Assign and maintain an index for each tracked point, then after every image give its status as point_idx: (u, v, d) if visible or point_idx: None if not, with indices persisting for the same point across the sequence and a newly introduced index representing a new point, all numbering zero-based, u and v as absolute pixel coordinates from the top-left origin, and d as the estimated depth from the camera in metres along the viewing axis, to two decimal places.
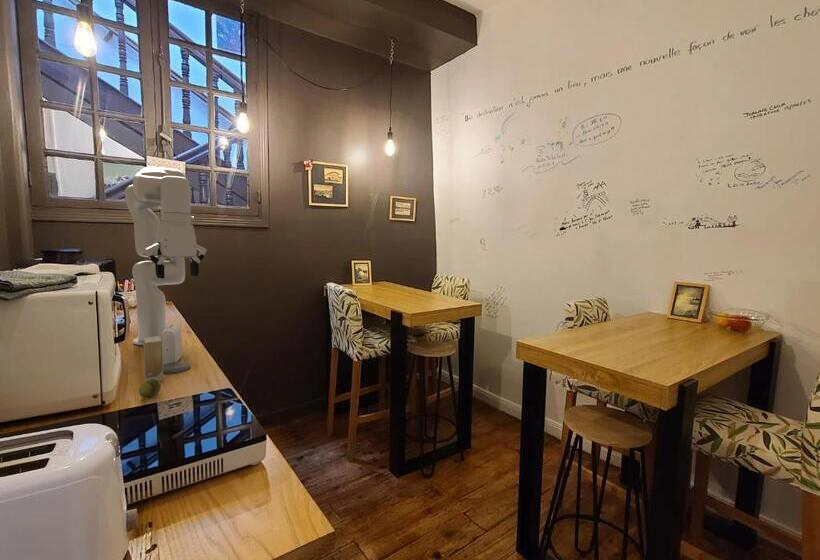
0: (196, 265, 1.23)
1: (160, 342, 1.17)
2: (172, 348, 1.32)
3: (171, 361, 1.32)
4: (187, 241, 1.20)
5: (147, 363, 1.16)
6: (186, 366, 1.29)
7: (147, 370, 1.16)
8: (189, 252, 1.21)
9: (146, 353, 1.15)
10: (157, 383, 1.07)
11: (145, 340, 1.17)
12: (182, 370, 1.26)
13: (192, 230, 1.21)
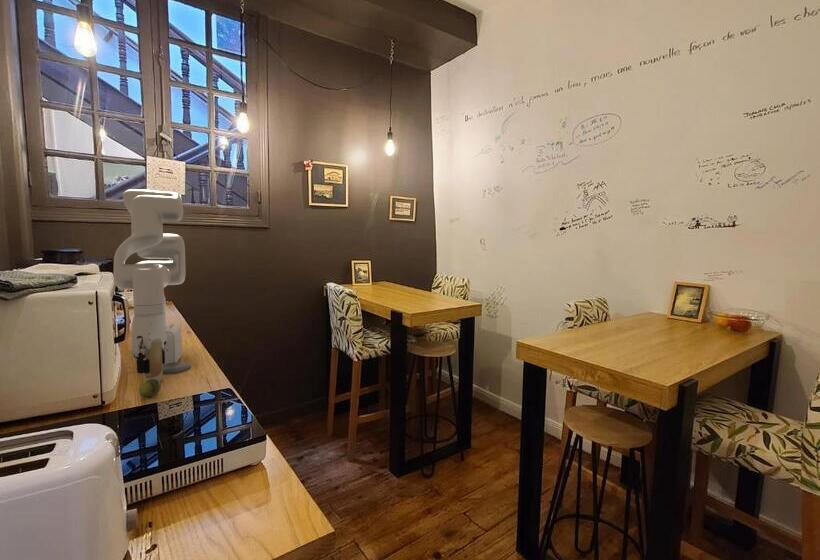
0: (163, 353, 1.23)
1: (160, 342, 1.17)
2: (172, 348, 1.32)
3: (171, 361, 1.32)
4: (162, 329, 1.20)
5: None
6: (186, 366, 1.29)
7: None
8: (163, 339, 1.21)
9: None
10: (157, 383, 1.07)
11: None
12: (182, 370, 1.26)
13: (164, 317, 1.21)
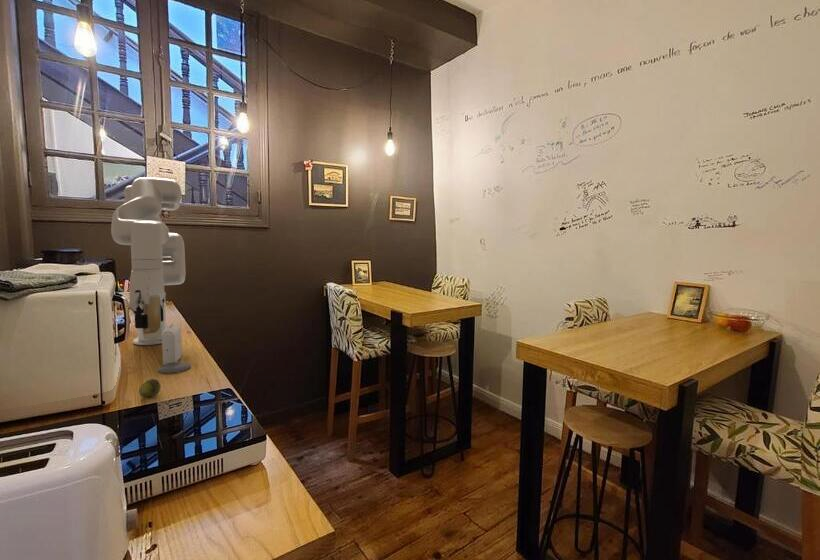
0: (162, 310, 1.22)
1: (158, 298, 1.15)
2: (172, 348, 1.32)
3: (171, 361, 1.32)
4: (160, 286, 1.19)
5: None
6: (186, 366, 1.29)
7: None
8: (161, 296, 1.20)
9: None
10: (157, 383, 1.07)
11: None
12: (182, 370, 1.26)
13: (162, 274, 1.20)
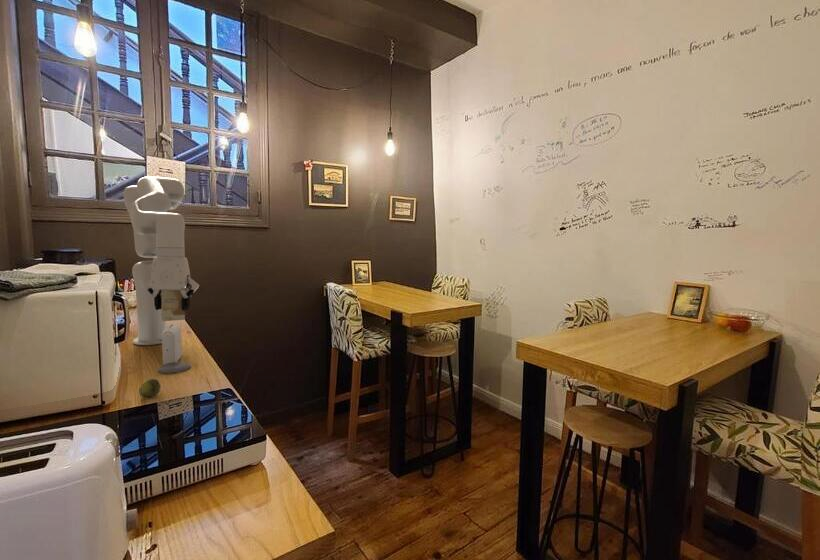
0: None
1: None
2: (172, 348, 1.32)
3: (171, 361, 1.32)
4: None
5: None
6: (186, 366, 1.29)
7: None
8: None
9: None
10: (157, 383, 1.07)
11: None
12: (182, 370, 1.26)
13: None
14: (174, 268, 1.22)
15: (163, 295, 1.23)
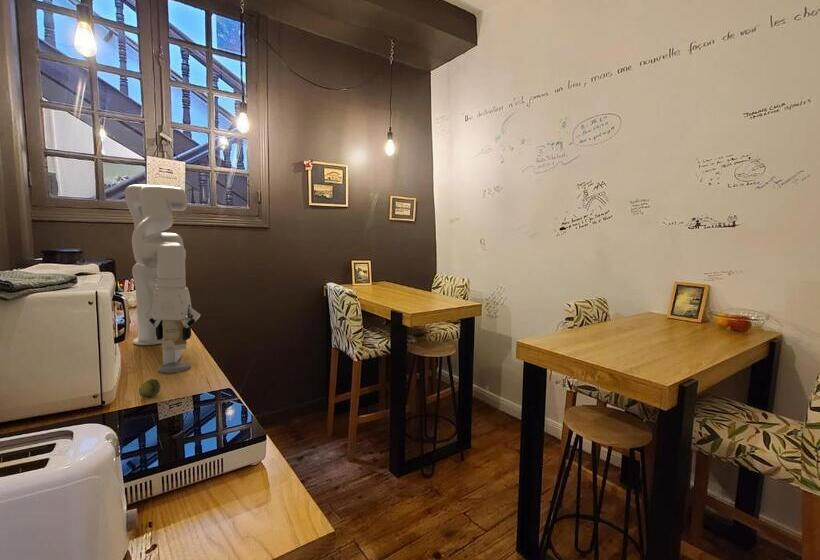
0: None
1: None
2: None
3: (171, 361, 1.32)
4: None
5: None
6: (186, 366, 1.29)
7: None
8: None
9: None
10: (157, 383, 1.07)
11: None
12: (182, 370, 1.26)
13: None
14: (175, 299, 1.23)
15: (164, 325, 1.24)
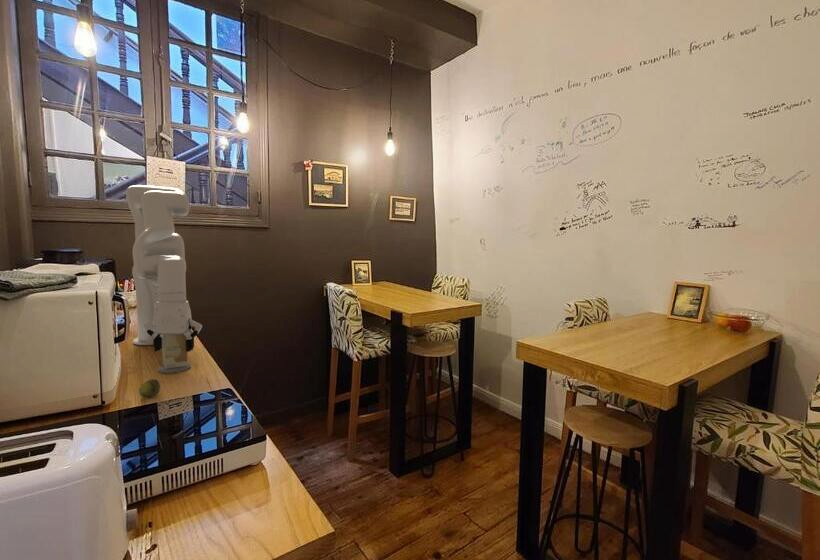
0: None
1: None
2: None
3: None
4: None
5: None
6: (186, 366, 1.29)
7: (186, 354, 1.29)
8: None
9: (186, 338, 1.28)
10: (157, 383, 1.07)
11: None
12: (182, 370, 1.26)
13: None
14: (176, 312, 1.24)
15: (166, 343, 1.25)
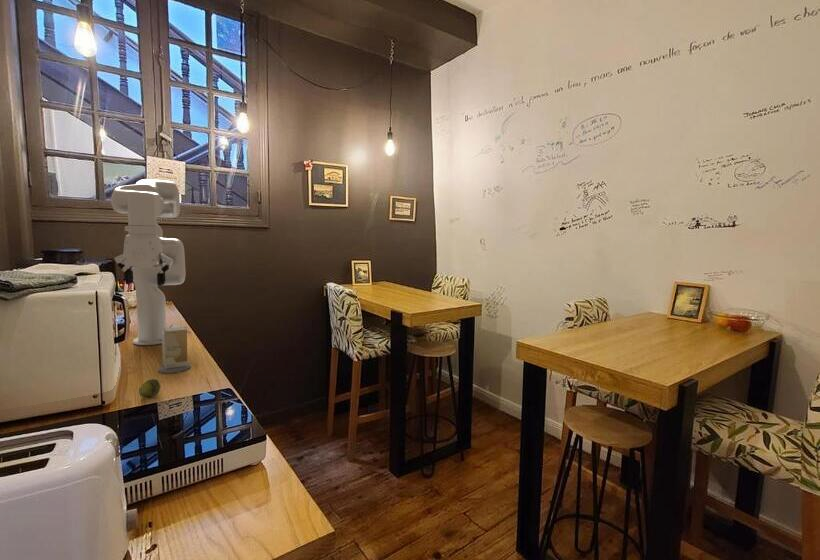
0: None
1: (185, 328, 1.31)
2: None
3: None
4: None
5: (186, 347, 1.29)
6: (186, 366, 1.29)
7: None
8: None
9: (186, 338, 1.28)
10: (157, 383, 1.07)
11: (177, 330, 1.26)
12: (182, 370, 1.26)
13: None
14: (146, 245, 1.26)
15: (166, 343, 1.25)
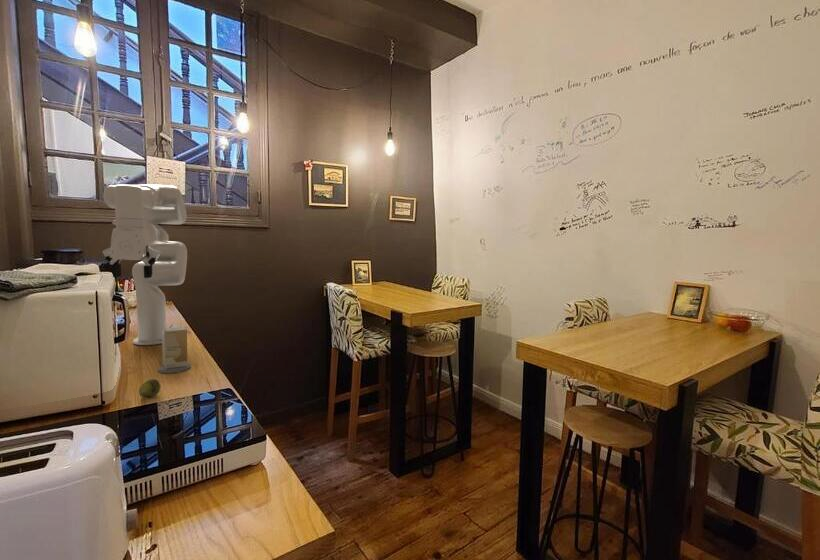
0: None
1: (185, 328, 1.31)
2: None
3: None
4: None
5: (186, 348, 1.29)
6: (186, 366, 1.29)
7: None
8: None
9: (186, 338, 1.28)
10: (157, 383, 1.07)
11: (177, 330, 1.26)
12: (182, 370, 1.26)
13: None
14: (133, 238, 1.27)
15: (166, 343, 1.25)
